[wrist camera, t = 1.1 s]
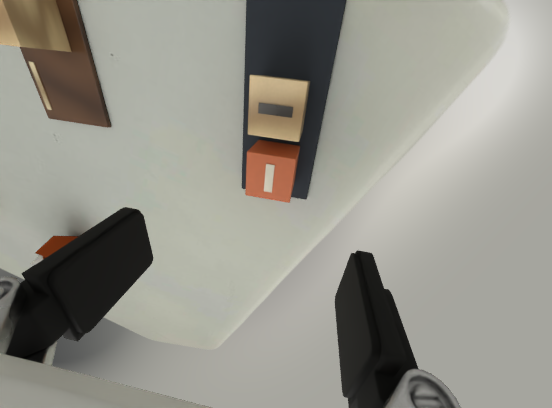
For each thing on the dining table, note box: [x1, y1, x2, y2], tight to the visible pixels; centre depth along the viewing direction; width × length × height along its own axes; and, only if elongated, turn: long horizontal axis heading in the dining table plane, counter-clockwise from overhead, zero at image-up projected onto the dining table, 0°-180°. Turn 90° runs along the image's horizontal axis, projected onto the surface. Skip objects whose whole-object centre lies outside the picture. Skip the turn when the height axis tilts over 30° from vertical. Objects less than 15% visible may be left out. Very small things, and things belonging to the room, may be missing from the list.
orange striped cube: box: [246, 140, 300, 203], centre depth 23 cm, size 4×4×5 cm
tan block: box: [248, 75, 310, 142], centre depth 19 cm, size 4×4×5 cm
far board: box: [20, 0, 111, 127], centre depth 21 cm, size 20×8×1 cm, turn 174°
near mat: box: [242, 0, 346, 199], centre depth 22 cm, size 18×8×1 cm, turn 174°
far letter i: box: [0, 0, 72, 52], centre depth 20 cm, size 4×4×5 cm
